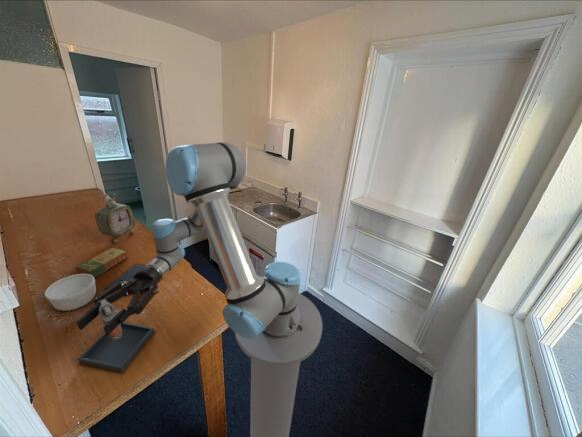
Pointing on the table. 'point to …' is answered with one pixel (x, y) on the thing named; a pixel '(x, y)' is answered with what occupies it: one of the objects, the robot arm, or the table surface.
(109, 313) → the lighter
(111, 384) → the table surface
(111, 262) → the carton
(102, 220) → the tabletop clock
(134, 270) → the mat
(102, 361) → the tray
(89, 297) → the ramekin
